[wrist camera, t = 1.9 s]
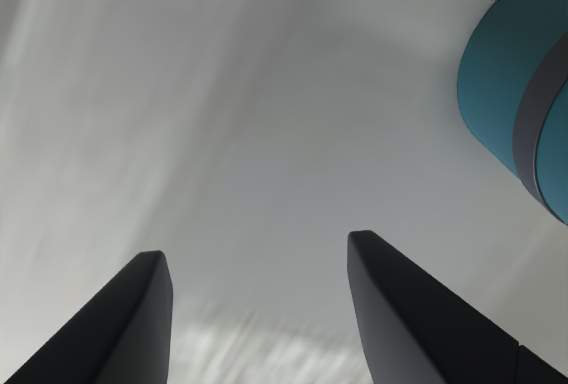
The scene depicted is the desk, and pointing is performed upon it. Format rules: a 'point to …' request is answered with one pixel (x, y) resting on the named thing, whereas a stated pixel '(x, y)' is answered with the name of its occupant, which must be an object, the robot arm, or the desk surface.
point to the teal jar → (522, 94)
